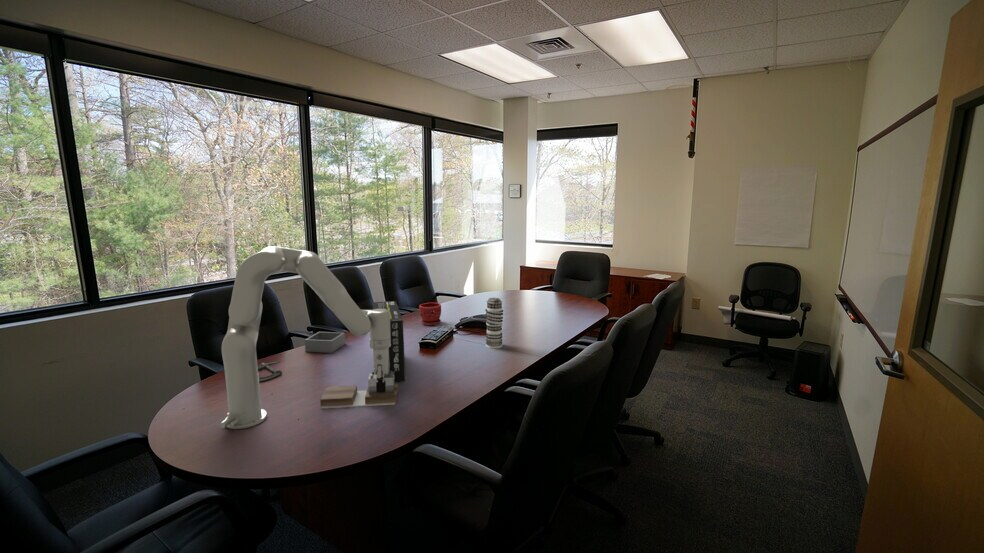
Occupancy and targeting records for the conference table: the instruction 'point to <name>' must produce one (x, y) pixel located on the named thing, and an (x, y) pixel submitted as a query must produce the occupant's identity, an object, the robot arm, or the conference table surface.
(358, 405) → the mat
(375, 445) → the conference table surface
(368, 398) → the stand
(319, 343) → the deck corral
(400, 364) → the router box
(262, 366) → the c clamp
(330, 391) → the stand
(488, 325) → the model tower
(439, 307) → the plant pot
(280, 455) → the conference table surface
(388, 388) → the housing
